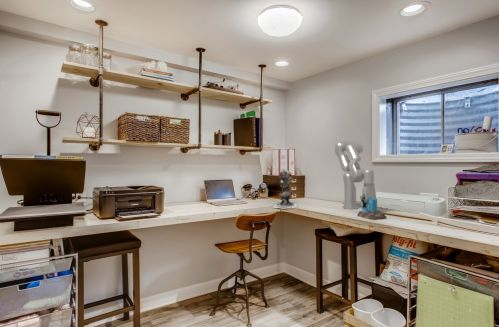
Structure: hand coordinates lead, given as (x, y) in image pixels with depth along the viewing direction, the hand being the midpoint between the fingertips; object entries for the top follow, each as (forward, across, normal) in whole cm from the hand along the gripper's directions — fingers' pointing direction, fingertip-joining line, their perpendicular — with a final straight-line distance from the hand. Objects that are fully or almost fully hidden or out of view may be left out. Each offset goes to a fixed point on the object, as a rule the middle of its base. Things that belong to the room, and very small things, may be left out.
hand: (369, 207), depth 230 cm
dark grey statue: (+4, +49, -55) cm, 73 cm away
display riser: (+5, +11, +14) cm, 19 cm away
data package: (+5, 0, -1) cm, 5 cm away
